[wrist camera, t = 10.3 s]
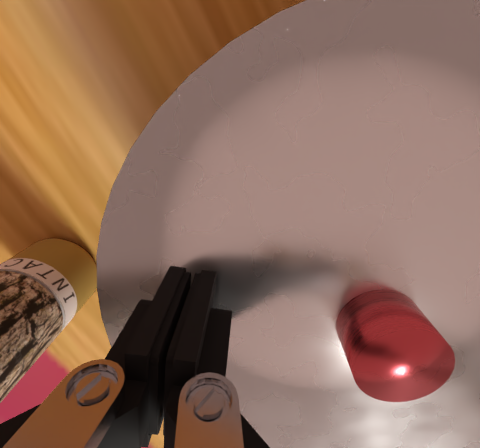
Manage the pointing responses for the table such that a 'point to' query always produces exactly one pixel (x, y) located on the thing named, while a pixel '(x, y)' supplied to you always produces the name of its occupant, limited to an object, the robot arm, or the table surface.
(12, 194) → the table surface
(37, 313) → the brown cylindrical piece
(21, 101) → the table surface
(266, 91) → the cooker lid
